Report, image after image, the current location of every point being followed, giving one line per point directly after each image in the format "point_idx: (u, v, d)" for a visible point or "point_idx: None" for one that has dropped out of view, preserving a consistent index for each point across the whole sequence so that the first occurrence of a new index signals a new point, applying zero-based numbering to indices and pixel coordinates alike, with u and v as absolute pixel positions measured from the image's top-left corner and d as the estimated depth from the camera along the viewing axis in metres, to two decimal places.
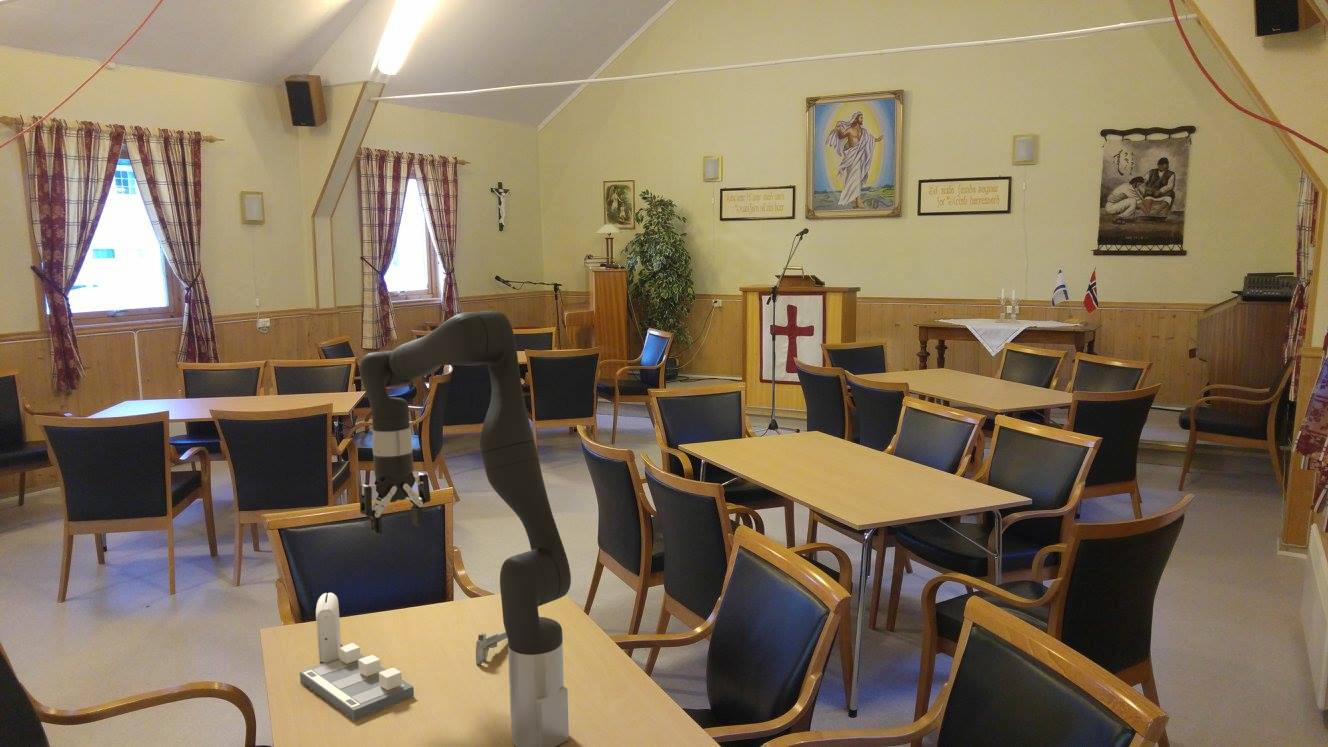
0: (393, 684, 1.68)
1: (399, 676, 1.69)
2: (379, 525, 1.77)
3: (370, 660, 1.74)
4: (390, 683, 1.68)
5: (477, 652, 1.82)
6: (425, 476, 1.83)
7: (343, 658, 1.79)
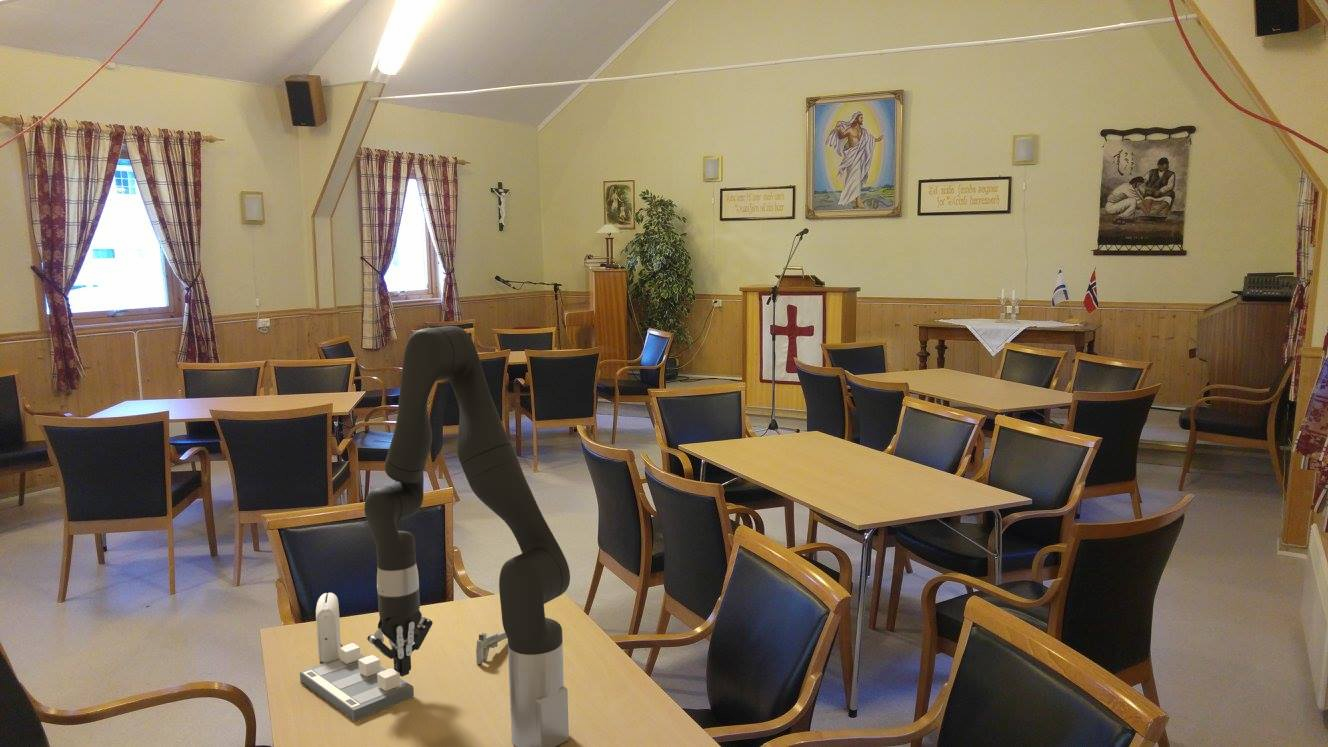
0: (391, 685, 1.68)
1: (397, 677, 1.69)
2: (402, 667, 1.70)
3: (370, 660, 1.74)
4: (388, 683, 1.68)
5: (478, 652, 1.82)
6: (430, 622, 1.73)
7: (343, 658, 1.79)
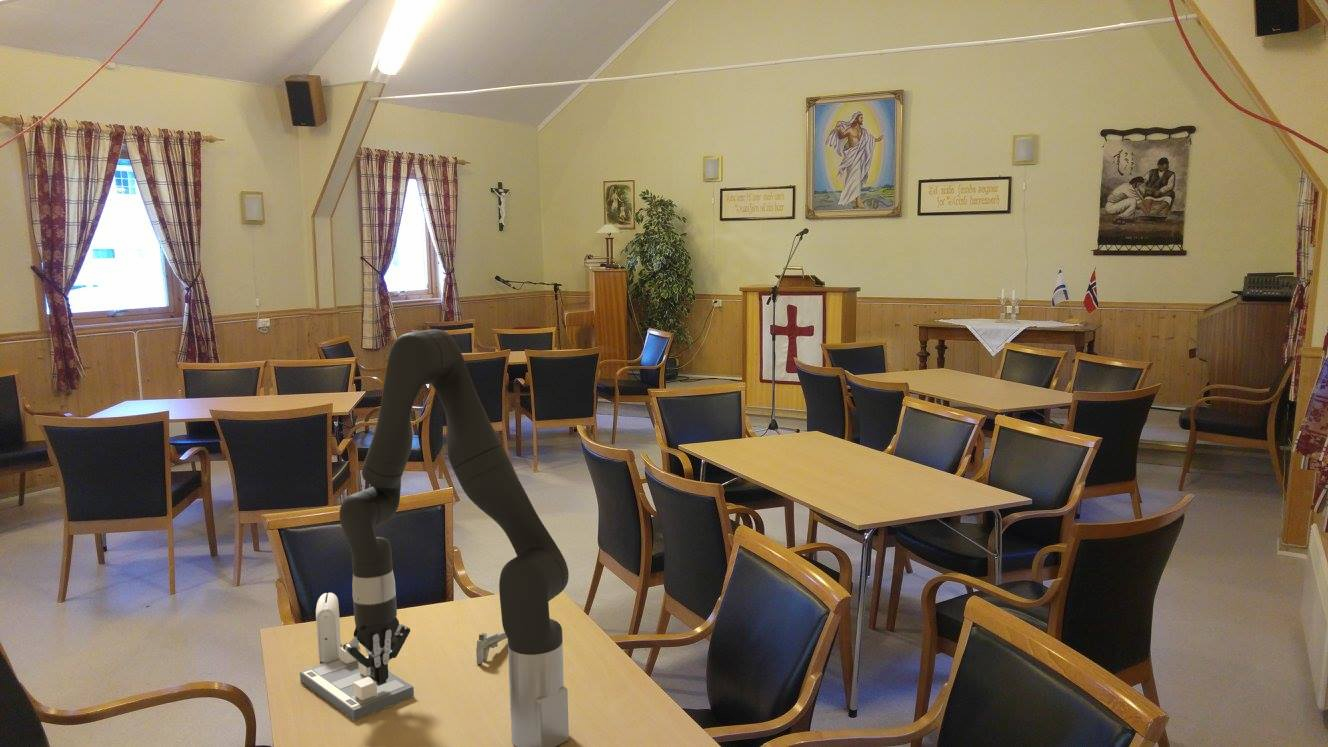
0: (368, 694, 1.65)
1: (374, 686, 1.66)
2: (379, 675, 1.67)
3: None
4: (365, 692, 1.64)
5: (478, 652, 1.82)
6: (408, 630, 1.70)
7: (343, 658, 1.79)
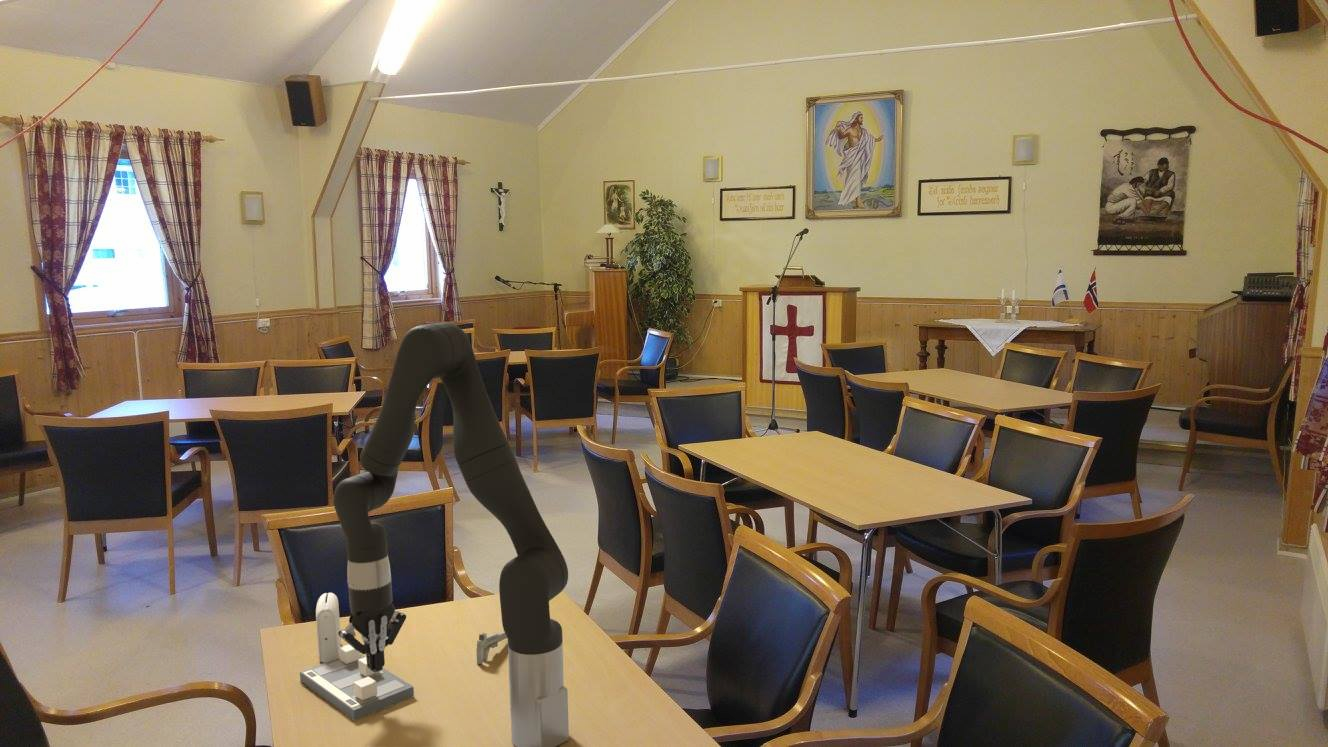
0: (368, 694, 1.65)
1: (374, 686, 1.66)
2: (375, 662, 1.65)
3: None
4: (365, 692, 1.64)
5: (478, 652, 1.82)
6: (404, 616, 1.69)
7: (343, 658, 1.79)
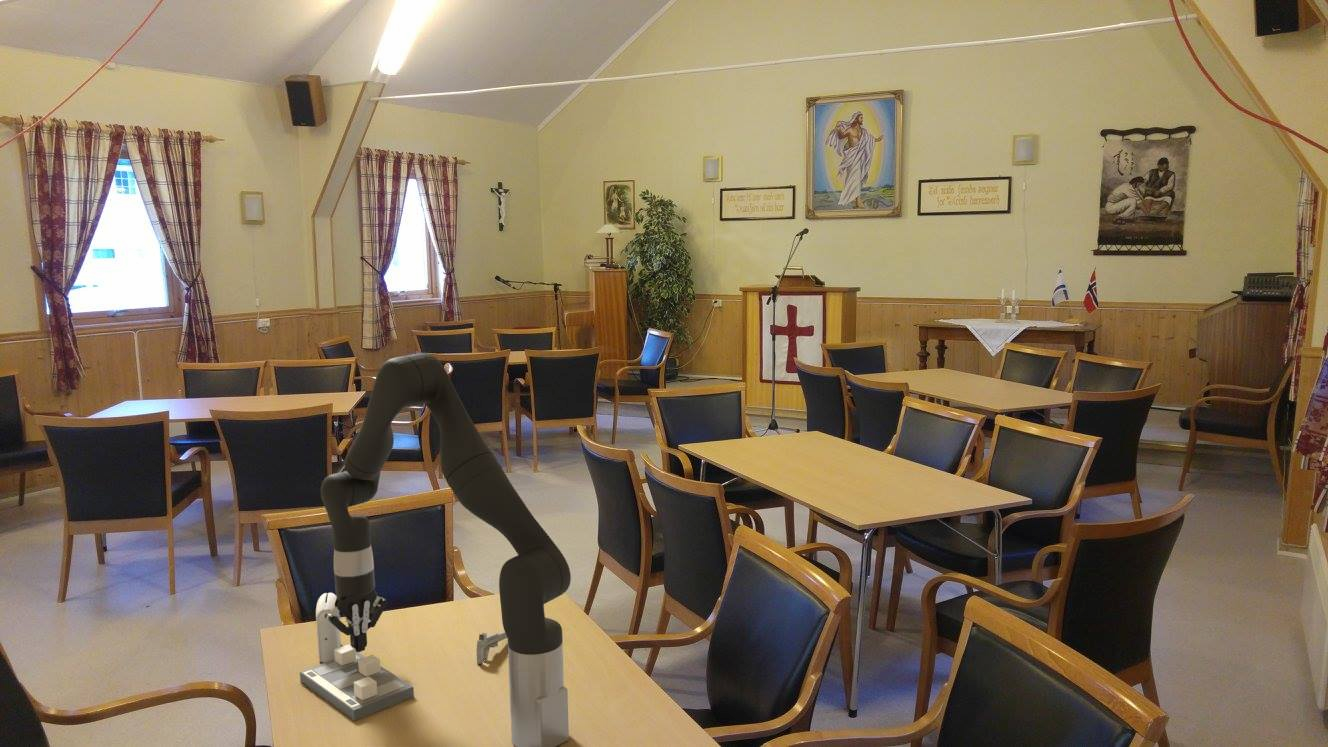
0: (368, 694, 1.65)
1: (374, 686, 1.66)
2: (358, 643, 1.81)
3: (370, 660, 1.74)
4: (365, 692, 1.64)
5: (478, 652, 1.82)
6: (385, 601, 1.84)
7: (338, 660, 1.79)
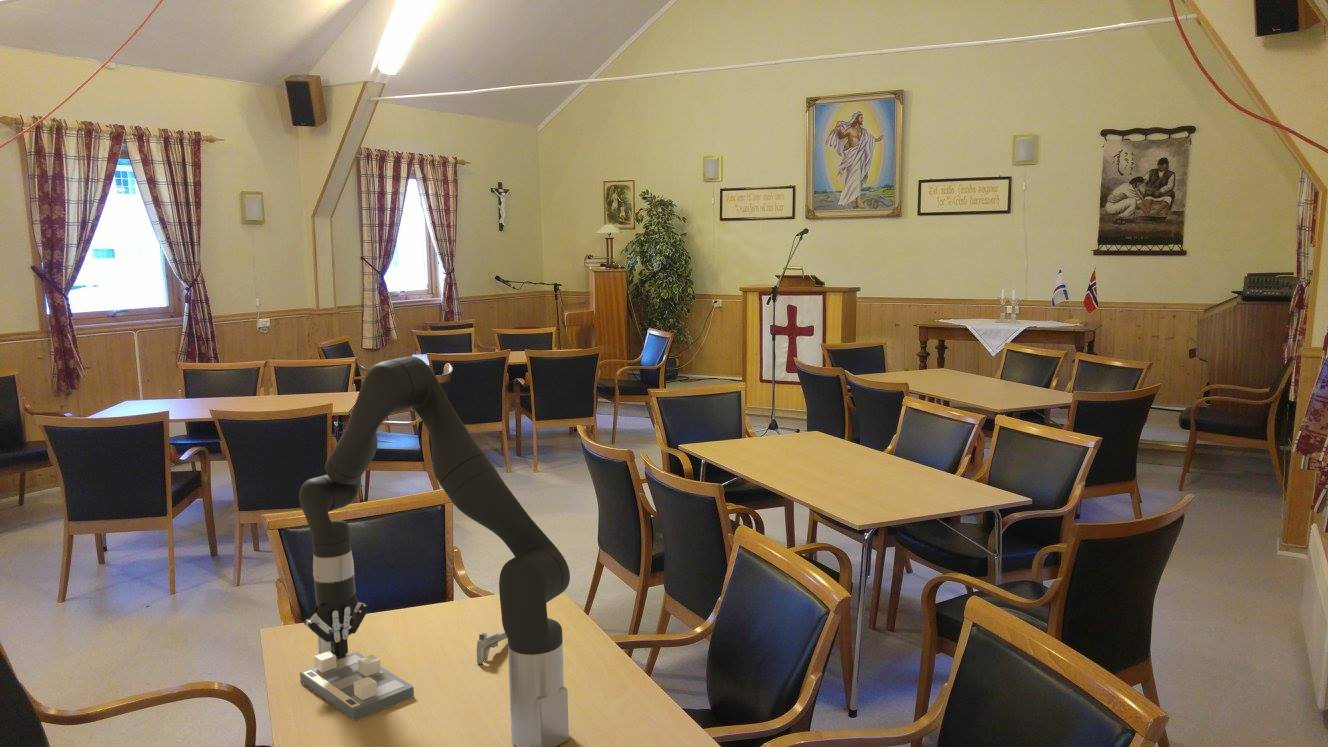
0: (368, 694, 1.65)
1: (374, 686, 1.66)
2: (339, 650, 1.78)
3: (370, 660, 1.74)
4: (365, 692, 1.64)
5: (478, 652, 1.82)
6: (367, 607, 1.81)
7: (318, 667, 1.76)
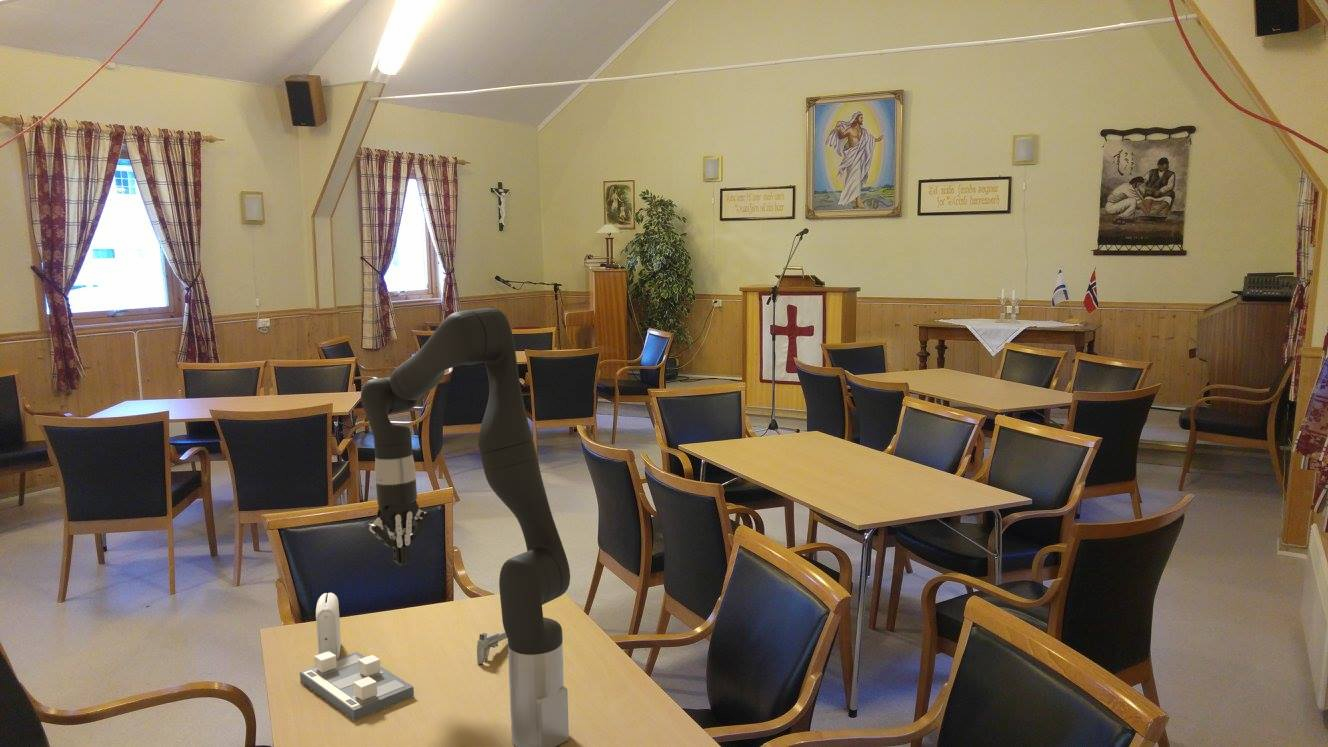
0: (368, 694, 1.65)
1: (374, 686, 1.66)
2: (401, 556, 1.76)
3: (370, 660, 1.74)
4: (365, 692, 1.64)
5: (478, 651, 1.82)
6: (427, 514, 1.80)
7: (318, 667, 1.76)
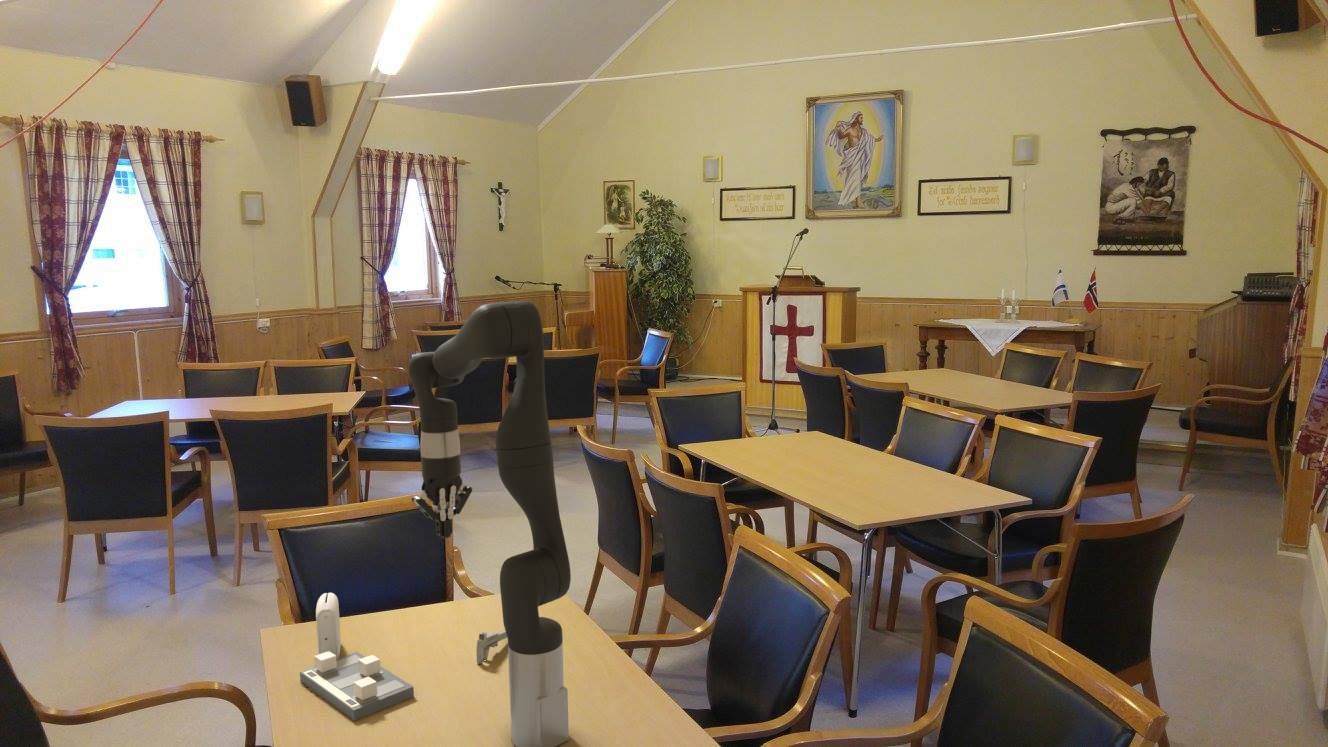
0: (368, 694, 1.65)
1: (374, 686, 1.66)
2: (444, 529, 1.78)
3: (370, 660, 1.74)
4: (365, 692, 1.64)
5: (478, 651, 1.82)
6: (470, 489, 1.81)
7: (318, 667, 1.76)
